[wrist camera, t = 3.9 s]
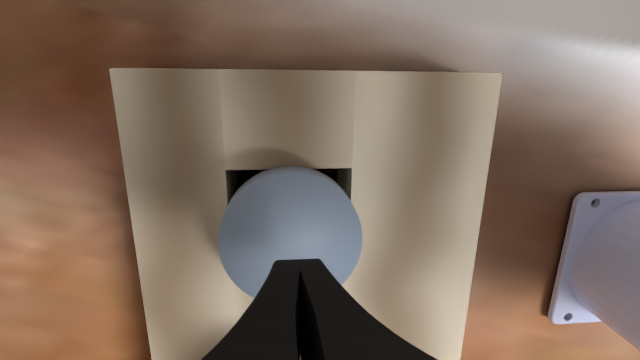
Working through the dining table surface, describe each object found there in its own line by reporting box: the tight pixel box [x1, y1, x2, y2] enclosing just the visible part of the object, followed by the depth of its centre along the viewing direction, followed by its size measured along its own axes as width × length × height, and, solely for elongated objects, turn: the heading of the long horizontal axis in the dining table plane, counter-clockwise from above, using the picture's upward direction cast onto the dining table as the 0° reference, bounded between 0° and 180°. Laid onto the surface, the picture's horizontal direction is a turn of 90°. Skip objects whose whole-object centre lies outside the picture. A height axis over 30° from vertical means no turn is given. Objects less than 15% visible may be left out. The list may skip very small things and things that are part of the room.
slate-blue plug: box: [218, 166, 363, 298], centre depth 16 cm, size 5×5×5 cm
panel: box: [109, 68, 503, 360], centre depth 19 cm, size 14×28×4 cm, turn 179°
